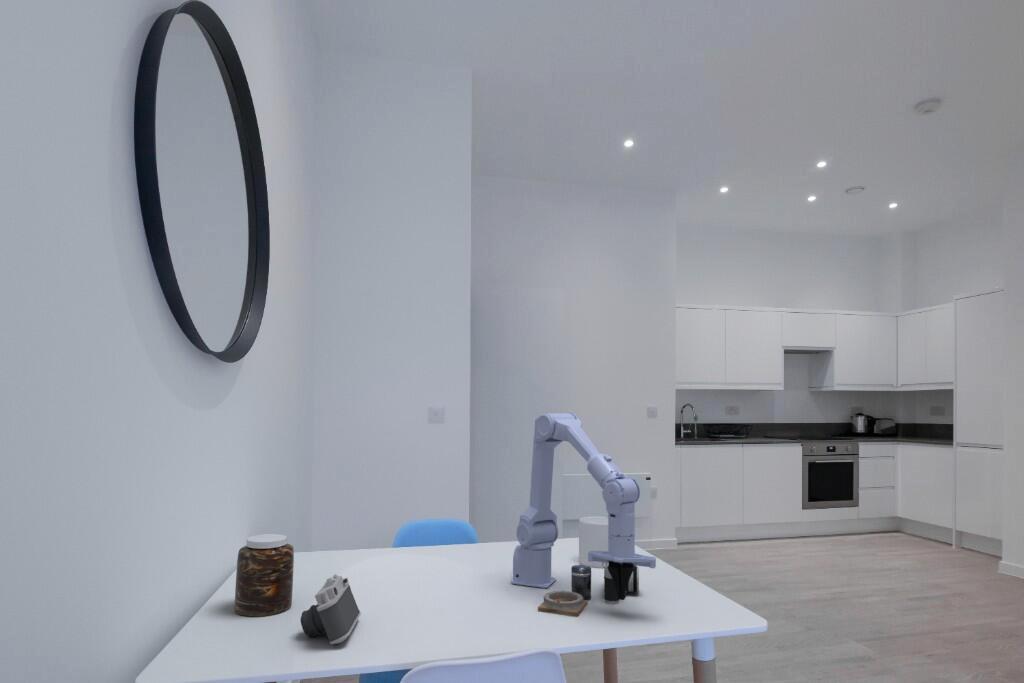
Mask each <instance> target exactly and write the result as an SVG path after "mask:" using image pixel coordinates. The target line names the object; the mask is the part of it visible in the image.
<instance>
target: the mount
mask: <svg viewBox="0 0 1024 683" xmlns="http://www.w3.org/2000/svg"><path fill="white" fill-rule="evenodd" d="M588 605H589V601H588V600H583V597H582V595H581V594H578V593H575V592H571V591H567V590H554V591H549V592H546V593H545V594H543V601H542V602H541V603H540V604H539V606H537V611H538V612H542V613H549V614H556V615H557V614H558V615H563V616H570V617H579V616H580V614H582V612H583V611H584V610H585V608H586V607H587V606H588Z"/></svg>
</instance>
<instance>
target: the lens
mask: <svg viewBox="0 0 1024 683" xmlns="http://www.w3.org/2000/svg"><path fill="white" fill-rule="evenodd" d="M570 569H571V572H570V573H571V582H570V584H571V590H570V592H575V593H578V594H581V595H582V597H583V600H588V602H589V601H591V600H592V567H589V566H586V565H582V564H574V565H572V566H571V568H570Z"/></svg>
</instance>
